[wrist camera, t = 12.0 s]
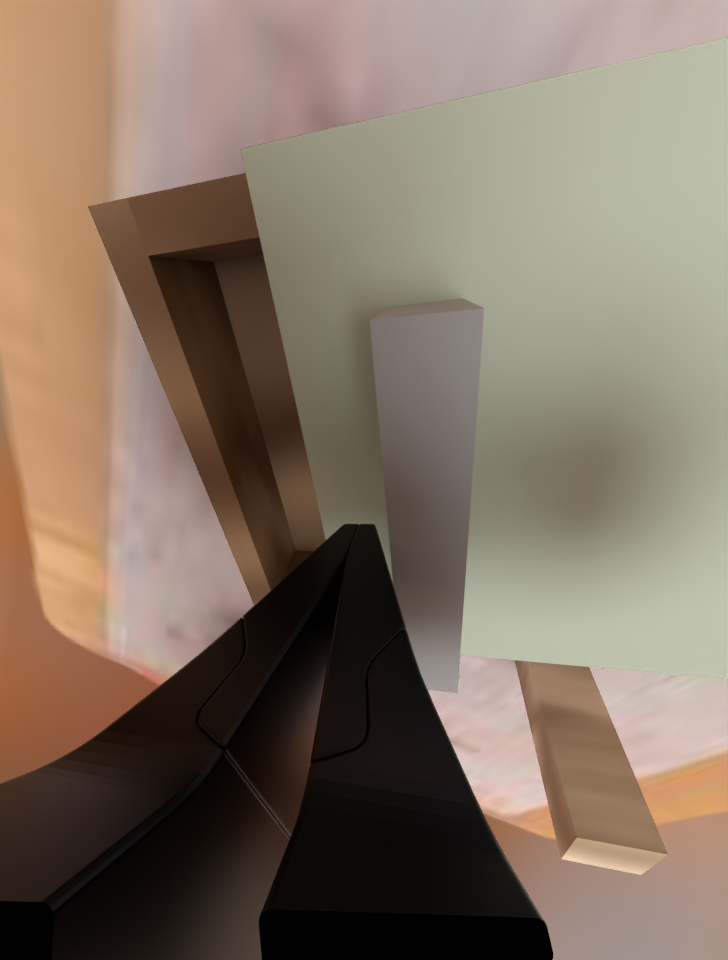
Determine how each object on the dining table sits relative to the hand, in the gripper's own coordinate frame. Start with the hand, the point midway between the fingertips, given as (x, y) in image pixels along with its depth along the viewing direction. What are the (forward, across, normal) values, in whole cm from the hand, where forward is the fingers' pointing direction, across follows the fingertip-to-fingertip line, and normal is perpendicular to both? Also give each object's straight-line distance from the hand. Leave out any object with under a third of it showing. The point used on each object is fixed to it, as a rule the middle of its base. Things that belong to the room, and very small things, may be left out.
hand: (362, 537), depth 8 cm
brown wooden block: (+8, -8, +15) cm, 19 cm away
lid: (+3, -8, 0) cm, 8 cm away
